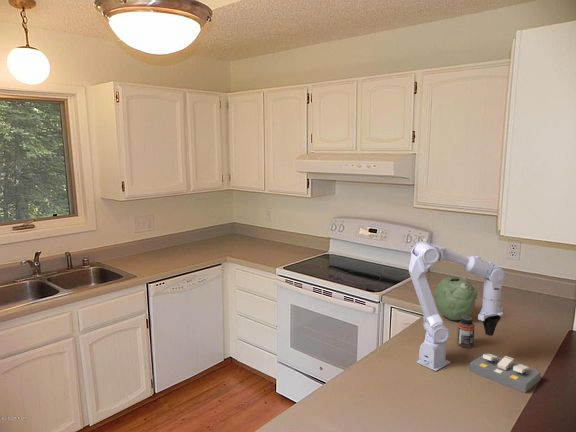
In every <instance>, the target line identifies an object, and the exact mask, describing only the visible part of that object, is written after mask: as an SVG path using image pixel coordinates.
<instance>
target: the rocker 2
mask: <svg viewBox="0 0 576 432" xmlns="http://www.w3.org/2000/svg"><path fill="white" fill-rule="evenodd" d="M502 358H503V359H502V360H501V361H500V362H499V363H498V364H497V367H499V368H501V369H504V370H506V369H507V368H508V367H509V366H510V364H511V363H513V362H515V361H514V358H513V357H510V356H507V355H504V356H503V357H502Z"/></svg>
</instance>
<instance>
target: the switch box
mask: <svg viewBox="0 0 576 432" xmlns="http://www.w3.org/2000/svg"><path fill="white" fill-rule="evenodd" d="M484 354H490V352H489V353H488V352H487V351H486V352H485V353H484ZM503 358H504V357H501V356H498V360H497V358H495V361H490V360H487V359H484V358H483V354H482V355H480V356H478V357H477V358H475V359H474V360H472V361H471V362H470V363H469V372H470V373H474V374H477V375H479V376H481V377H484V378H486V379H489V380H492V381H494V382H496V383H499V384H501V385H504V386H506V387H509V388H511V389H513V390H516V391H518V392H521V393H523V394H526V393H527V392H529V390H531V389H532V388H533V387H534V386H536V384H537V383H539V382H540V381H541V375H542V374H541V372H542V371H539V370H537V369H534V368H531V367H529V371H528V369H527V370H526V372H524V373H520V372H517V371H514V370H513V367H514V366H516V365H519V364H520V363H517V362H515V361H514V362H513V363H511V364H510V366H509V367H508V368H507V369H506V370H504V369H501V368H499V367H497V364H498V363H499V362H500V361H501V360H502V359H503Z"/></svg>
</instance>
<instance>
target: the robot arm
mask: <svg viewBox="0 0 576 432" xmlns="http://www.w3.org/2000/svg"><path fill="white" fill-rule="evenodd" d="M410 254H411V255H410V261H409V265H408V274H409V275H410V279H411V282H412V284H413V285H412V286H413V287H414V291H415V293H416V296H417V299H418V303H419V304H420V308H421V311H422V314H423V316H422V318H423V326H422V327H423V329H424V331H425V336H424V341H423V342H422V343H421V344H420V346H419V352H418V360H417V361H416V363H417V364H418V365H421V366H423V367H425V368H428V369H430V370H433V371H435V372H437V371H438V370H441V369H443V368H444V367H446V366H448V365H449V364H451V361H449V360H448V359H446V354H447V342H448V340H449V338H450V334H451V333H450V330H449V329H448V327H446V326H445V324H444V321H443V319H442V317H441V316H440V315H441V314H439V313H440V312H439V310H438V309H437V307H436V302H435V298H434V295H433V294H432V291H431V287H430V285H429V281H428V278H427V275H426V273H427V272H428V270H430V269H431V268H432V267H433V266H434V265H435V264H436V263H437V262H443V261H445V260H446V261H450V262H452V263H455V264H458V265H460V266H463V268H464V270H465V271H466V272H467V273H471V274H473V275H475V276H478V277H480V278H483V288H482V289H483V291H482V292H483V293H482V305H481V306H482V307H481V309H480V312H479V313H478V316H477V319H478V320H479V321H481V322H482V324H483V327H484V328H483V329H484V334H485V335H487V336H489V337H492V336H494V333H495V330H496V329H497V325H498V323H499V321H500V320H501V319H502V316H503V315H504V312H503V310H504V309H503V308H504V306H502V305H501V300H502V290H503V289H502V287H503V282H504V281H505V280H506V279H507V275H506V272H505V270H504V269H503V268H502V267H501V266H498V265H496V264H495V263H493V262H492V261H489V260H488V261H487V260H484V259H482V257H480V256H479V255H475V256H474V255H471V256H468V257H467V256H464V255H462V254H460V253H459V252H455V251H453V250H451V249H448V248H447V247H443V246H441V245H437V244H434V243H429V242H427V241H425V240H424V241H418V242H417V243H416V244H415V245H414V246H413V248H412V249H411V251H410Z"/></svg>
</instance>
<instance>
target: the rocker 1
mask: <svg viewBox="0 0 576 432" xmlns="http://www.w3.org/2000/svg"><path fill="white" fill-rule="evenodd" d="M482 355H483V358H484V359H487V360H490V361H495V358H497V360H498V357H499V356H497V355H496V354H495V355H494V354H492V353H489V354H485V353H483V354H482Z"/></svg>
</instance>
